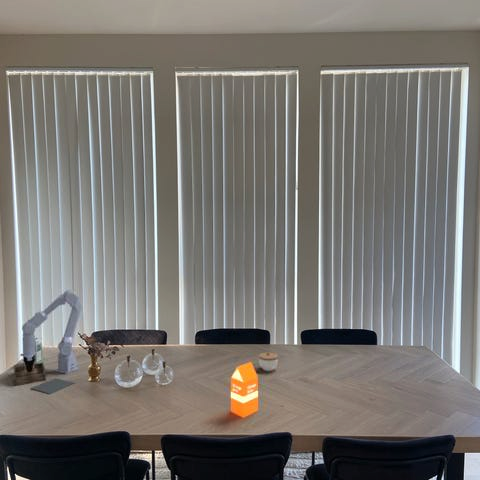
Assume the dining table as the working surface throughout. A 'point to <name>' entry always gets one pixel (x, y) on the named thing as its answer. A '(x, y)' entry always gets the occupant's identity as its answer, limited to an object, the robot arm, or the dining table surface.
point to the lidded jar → (268, 361)
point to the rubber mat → (52, 386)
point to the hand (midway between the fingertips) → (29, 370)
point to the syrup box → (38, 351)
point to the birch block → (26, 369)
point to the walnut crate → (29, 374)
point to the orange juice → (244, 390)
